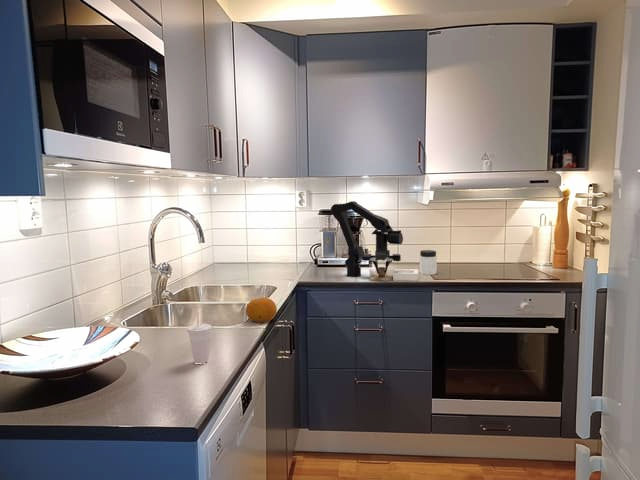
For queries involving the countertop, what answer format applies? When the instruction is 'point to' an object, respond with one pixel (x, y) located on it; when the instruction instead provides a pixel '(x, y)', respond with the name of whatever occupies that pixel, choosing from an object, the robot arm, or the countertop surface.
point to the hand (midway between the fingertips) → (381, 274)
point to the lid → (381, 275)
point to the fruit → (261, 309)
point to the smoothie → (200, 341)
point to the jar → (428, 262)
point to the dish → (405, 275)
